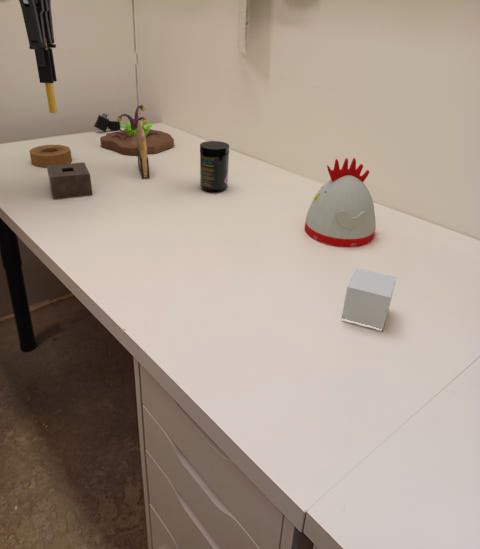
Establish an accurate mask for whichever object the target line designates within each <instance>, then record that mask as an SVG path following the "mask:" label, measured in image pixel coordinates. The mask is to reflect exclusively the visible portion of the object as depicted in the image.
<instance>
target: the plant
mask: <svg viewBox="0 0 480 549" xmlns="http://www.w3.org/2000/svg"><path fill="white" fill-rule="evenodd" d="M139 109H140V111H141V112H145V111H146V107H145V105H142V104H140V105H139V104H138V105H137V107H136V109H135V112H134V118H133V117H132V116H131V115H129V114H127V113H123V114H121V115H119V116H117V118H116V121H118V122H120V127H122V128H123V129H120V130H118V131H113V132H108V133H106V134H105V135H102V136H100V138H99V141H100V146H101V147H102V148H104V149H107V150H111V151H115V152H117V153H119V154H121V155H127V156H137V157H138V153H137V147H138V145H137V125H138V120H140V122H141V125H142V128H143V130H144V133H145V139H146V146H147V155H148V154H149V155H151V154H152V155H153V154H158V153H160V152H163V151H165V150H168V149H171V148H174V147H175V139H174V138H173V136H172V135H171V134H170V133H168V132H165V131H162V130H155V129H151V128H152V127H153V126H154V122H152V123H151V122H150V123H148V120H147V118H145V117H144V116H141V117H139ZM123 117H127V119H128V120H129V121H126V124H124V123H121V122H122V121H123Z"/></svg>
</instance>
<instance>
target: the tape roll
mask: <svg viewBox="0 0 480 549" xmlns="http://www.w3.org/2000/svg"><path fill="white" fill-rule="evenodd" d="M29 157H30V162H31V165H33V166H35V167H40V168H47V166H48V165H59V164H71V162H72V161H73V158H72V151H71V148H70V147H69V146H67V145H62V144H44V145H39V146H35V147H32V148H30V149H29Z"/></svg>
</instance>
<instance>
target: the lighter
mask: <svg viewBox="0 0 480 549" xmlns="http://www.w3.org/2000/svg"><path fill="white" fill-rule="evenodd" d="M108 116H109V114H107V113H104V112H103V113H101V115H100V114H99V115H98V116H97V119H96V121H95V123H94V125H93V127H94V128H96V129H98V130H100V131H102V132H103V133H106V131H107V130H111V131H120V130H121V125H120V124H121V121H120V122H118V121H117V120H110V118H109V117H108Z"/></svg>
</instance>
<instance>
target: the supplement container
mask: <svg viewBox="0 0 480 549" xmlns="http://www.w3.org/2000/svg"><path fill="white" fill-rule="evenodd" d="M229 159H230V144H229V143H227V142H224V141H221V140H208V141H204V142H203V141H202V142H201V143H200V144H199V167H200V168H199V169H200V170H199V175H200V176H199V180H200V182H199V186H200V188H201V190H202V191H204V192H207V193H222V192H225V191H226V190H227V189H228V188H229V166H230V164H229V163H230V160H229Z"/></svg>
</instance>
